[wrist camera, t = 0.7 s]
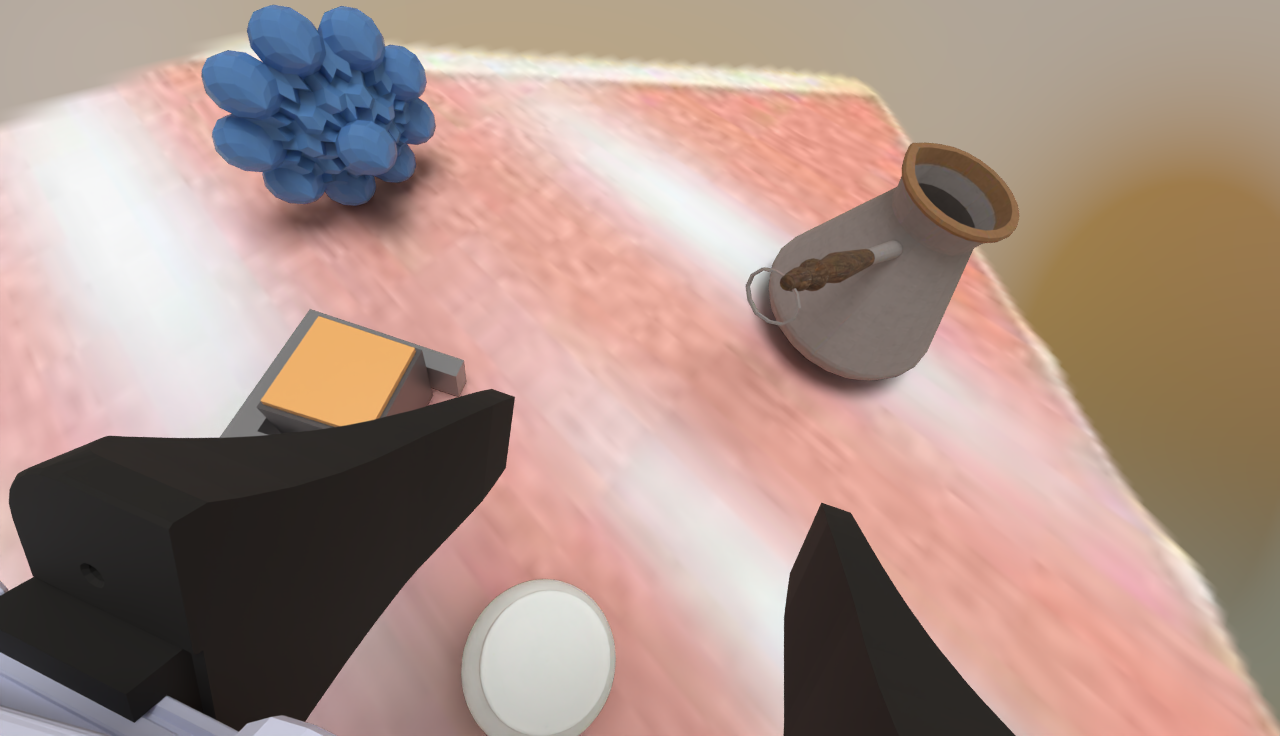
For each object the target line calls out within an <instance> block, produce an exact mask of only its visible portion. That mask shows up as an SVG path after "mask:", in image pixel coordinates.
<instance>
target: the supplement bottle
mask: <svg viewBox="0 0 1280 736" xmlns="http://www.w3.org/2000/svg"><path fill="white" fill-rule="evenodd" d="M615 662H616V655H615V644H614V639H613V635H612V631H611V629H610V626H609V624H608V621H607V619H606V617H605V615H604V613H603V612H602V610H601V609H600V608H599V606H598V605H597V604H596V603H595V601H594V600H593V599H592V598H591V597H590V596H588V595H587V594H586V593H585V592H583V591H582V590H580V589H579V588H577V587H575V586H573V585H571V584H569V583H565V582H562V581H558V580H551V579H538V580H532V581H527V582H524V583H521V584H518V585H516V586H513V587H512V588H510V589H508V590H506V591H505V592H503V593H502V594H500V595H499V596H497V597H496V598H495V599H494V600H493V601H492V602H491V603H490V604H489V605H488V606H487V607H486V608H485V609H484V610H483V612H482V613H481V614H480V616H479V617H478V619H477V620H476V622H475V624H474V625H473V627H472V629H471V631H470V634H469V636H468V638H467V641H466V644H465V647H464V650H463V656H462V668H461V680H462V688H463V693H464V697H465V700H466V703H467V706H468V708H469V711H470V713H471V715H472V716H473V718H474V720H475V721H476V723H477V724H478V725H479V727H480V728H481V729H482V730H483V731H484V732H485V733H486V734H487V735H488V736H579V735H580V734H581V733H582V732H583V731H585V730H586V729H587V728H588V727H589V726H590V724H591V723H592V722H593V721H594V720H595V718H596V717H597V716H598V714H599V713H600V711H601V710H602V708H603V706H604V704H605V702H606V700H607V698H608V695H609V693H610V690H611V687H612V683H613V679H614V673H615Z"/></svg>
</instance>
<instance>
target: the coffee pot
mask: <svg viewBox="0 0 1280 736" xmlns="http://www.w3.org/2000/svg"><path fill="white" fill-rule="evenodd" d="M1018 220H1019V210H1018V205H1017V202H1016V200H1015V198H1014V196H1013V193H1012V192H1011V190H1010V189H1009V187H1008V186H1007V185H1006V183H1005V182H1004V181H1003V180H1002V179H1001V178H1000V177H999V175H998V174H997V173H996V172H995V171H994V170H992V169H991V168H990V167H988V166H987V165H986V164H985V163H983V162H982V161H981V160H979V159H977V158H976V157H974V156H972V155H971V154H969V153H967V152H964V151H962V150H960V149H957V148H954V147H951V146H946V145H942V144H934V143H912V144H911V145H910V146H909V148H908V150H907V152H906V154H905V157H904V160H903V165H902V177H901V179H900V182H899V184H898V187H896V188H894V189H892V190H890V191H888V192H886V193H884V194H882V195H880V196H878V197H876V198H874V199H872V200H870V201H867V202H865V203H863V204H861V205H859V206H857V207H855V208H853V209H851V210H849V211H847V212H845V213H843V214H841V215H839V216H837V217H835V218H833V219H831V220H829V221H827V222H825V223H823V224H821V225H819V226H817V227H815V228H813V229H811V230H809V231H807V232H805V233H803V234H801V235H799V236H797V237H795V238H794V239H793V240H792V241H790V242H789V243H788V244H787V245H785V246H784V247H783V248H782V249H781V250H780V252H779V254H778V255H777V257H776V259H775V260H774V262H773V265H772V269H770V268H765V267H764V268H761V269H759V270H757V271H756V272H754V273H752V274H751V275H750V277H749V280H748V282H747V284H746V292H747V300H748V302H749V304H750V306H751V308H752V310H753V312H754V313H755V315H757V316H758V317H760V318H761V319H763V320H764V321H766V322H767V323H770V324H775V325H778V326H779V328H780V329H781V330H782V332H783V333H784V335H785V336H786V337H787V339H788V340H789V342H790V343H791V344H792V346H794V347H795V348H796V349H797V350H798V351H799V352H800V353H801V354H802V355H803V356H804V357H805V358H806V359H808V360H810V361H811V362H813V363H814V364H816V365H818V366H819V367H821V368H823V369H824V370H826V371H828V372H831V373H833V374H836V375H839V376H842V377H845V378H848V379H857V380H866V381H869V380H880V379H886V378H892V377H896V376H899V375H901V374H903V373H905V372H906V371H908V370H910V369H912V368H914V367H915V366H916V365H917V363H918V362H919V361H920V360H921V358H922V357H923V356H924V355H925V353H926V352H927V350H928V348H929V346H930V344H931V342H932V339H933V337H934V335H935V333H936V331H937V328H938V326H939V324H940V322H941V319H942V317H943V315H944V313H945V311H946V308H947V306H948V304H949V302H950V300H951V297H952V295H953V293H954V291H955V288H956V286H957V284H958V282H959V280H960V277H961V275H962V273H963V271H964V269H965V266H966V264H967V262H968V260H969V257H970V255H971V253H972V251H973V249H974V248H975V247H977V246H979V245H981V244H983V243H993V242H998V241H1000V240H1003V239H1005V238H1007V237H1009V236H1010V235H1011V234H1012V233H1013V231H1014V230H1015V229H1016V227H1017V225H1018ZM762 271H768V272H771V275H770V281H769V295H770V303H771V309H772V311H773V314H774V316H775V319H776V321H773V320H770V319H768V318H767V317H765V316H764V315H762V314H761V313H760V312H758V310H757V308H756V306H755V304H754V302H753V300H752V297H751V290H750V285H751V282H752V280H753V278H754V276H755V275H756V274H758V273H760V272H762Z"/></svg>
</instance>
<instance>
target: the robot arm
mask: <svg viewBox="0 0 1280 736" xmlns="http://www.w3.org/2000/svg"><path fill="white" fill-rule="evenodd" d="M514 400H515V397H513V396H510V395H508V394H505V393H502V392H499V391H496V390H493V389H489V390H484V391H480V392H476V393H472V394H468V395H465V396H461V397H458V398H454V399H451V400H447V401H444V402H440V403H437V404H433V405H430V406H426V407H422V408H419V409H415V410H412V411H407V412H403V413H399V414H395V415H391V416H387V417H383V418H378V419H374V420H370V421H365V422H361V423H355V424H350V425H345V426H339V427H332V428H326V429H320V430H312V431H303V432H293V433H283V434H273V435H262V436H247V437H227V438H155V437H122V436H106V437H103V438H100V439H98V440H96V441H93V442H91V443H89V444H86V445H84V446H81V447H79V448H76V449H74V450H72V451H69V452H67V453H64V454H62V455H59V456H57V457H54V458H52V459H49V460H47V461H45V462H42V463H40V464H37V465H35V466H32V467H30V468H28V469H26V470H24V471H22V472H20V473H18V474H17V476H16V478H15V480H14V481H13V483H12V485H11V488H10V493H9V505H10V509H11V514H12V518H13V521H14V524H15V527H16V529H17V532H18V535H19V538H20V541H21V544H22V546H23V549H24V552H25V555H26V558H27V560H28V563H29V566H30V569H31V572H32V575H33V576H34V577H33V578H31V579H29V580H28V581H26V582H24V583H22V584H20V585H19V586H17V587H15V588H13V589H11V590H9V591H8V589H7V588H6V586H5V585H4V584H3V583H2V582H1V581H0V736H337V735H335V734H333V733H331V732H329V731H326V730H324V729H322V728H320V727H318V726H316V725H313V724H310V723H307V722H305V721H306V720H307V718H308V717H309V715H310V713H311V712H312V711H313V709H314V708H315V706H316V705H317V703H318V702H319V700H320V699H321V698H322V696H323V695H324V693H325V692H326V690H327V689H328V688H329V686H330V685H331V683H332V682H333V680H334V679H335V677H336V676H337V675H338V673H339V672H340V670H341V669H342V667H343V666H344V664H345V663H346V662H347V660H348V659H349V658H350V656H351V655H352V653H353V652H354V651H355V649H356V648H357V647H358V645H359V644H360V643H361V641H362V640H363V638H364V637H365V636H366V634H367V633H368V632H369V630H370V629H371V628H372V626H373V625H374V623H375V622H376V621H377V619H378V618H379V617H380V616H381V614H382V613H383V612H384V610H385V609H386V608H387V607H388V605H389V604H390V603H391V601H392V600H393V599H394V597H395V596H396V595H397V594H398V592H399V591H400V590H401V588H402V587H403V586H404V585H405V583H406V582H407V581H408V580H409V579H410V578H411V577H412V575H413V574H414V573H415V572H416V571H417V570H418V569H419V568H420V566H421V565H422V564H423V563H424V562H425V561H426V560H427V559H428V558H429V557H430V556H431V555H432V554H433V553H434V552H435V551H436V550H437V549H438V548H439V547H440V545H441V544H442V543H443V542H444V541H445V540H446V539H447V538H448V537H449V536H450V535H451V534H452V533H453V532H454V531H455V530H456V529H457V528H458V527H459V526H460V524H461V523H462V522H463V521H464V520H465V519H466V518H467V517H468V516H469V515H470V514H471V513H472V512H473V511H474V509H475V508H476V507H477V506H478V505H479V504H480V503H481V502H482V501H483V499H484V498H485V497H486V495H487V494H488V493H489V491H490V490H491V488H492V487H493V486H494V484H495V483H496V481H497V480H498V478H499V477H500V476H501V474H502V473H503V471H504V470H505V468H506V461H507V453H508V446H509V438H510V430H511V423H512V415H513V407H514ZM784 736H1015V735H1014V734H1013V733H1012V731H1011V730H1010V729H1009V728H1008V727H1007V726H1006V725H1005V724H1004V723H1003V722H1002V721H1001V720H1000V719H999V718H998V716H997V715H996V714H995V713H994V712H993V711H992V710H991V709H990V708H989V707H988V706H987V705H986V704H985V703H984V702H983V700H982V699H981V698H980V697H979V696H978V695H977V694H976V693H975V691H974V690H973V689H972V688H971V687H970V686H969V685H968V683H967V682H966V681H965V680H964V679H963V678H962V676H961V675H960V674H959V673H958V671H957V670H956V669H955V668H954V667H953V665H952V664H951V663H950V662H949V660H948V659H947V658H946V657H945V656H944V654H943V653H942V652H941V651H940V649H939V648H938V647H937V646H936V644H935V643H934V642H933V640H932V639H931V638H930V636H929V635H928V634H927V632H926V631H925V630H924V628H923V627H922V625H921V624H920V622H919V621H918V620H917V618H916V617H915V615H914V614H913V613H912V611H911V610H910V608H909V607H908V606H907V604H906V603H905V601H904V600H903V598H902V597H901V595H900V594H899V592H898V591H897V589H896V587H895V586H894V584H893V583H892V581H891V580H890V578H889V576H888V575H887V573H886V572H885V570H884V568H883V567H882V565H881V563H880V562H879V560H878V558H877V557H876V555H875V553H874V552H873V550H872V548H871V546H870V545H869V543H868V541H867V540H866V538H865V536H864V534H863V533H862V531H861V529H860V528H859V526H858V524H857V522H856V521H855V519H854V517H853V516H852V514H851V513H850V512H847V511H844V510H841V509H838V508H835V507H832V506H829V505H827V504H824V503H821V505H820V507H819V510H818V512H817V514H816V516H815V518H814V521H813V523H812V525H811V527H810V530H809V532H808V534H807V536H806V539H805V541H804V543H803V545H802V548H801V550H800V552H799V554H798V557H797V559H796V561H795V563H794V566H793V568H792V570H791V572H790V577H789V584H788V591H787V599H786V607H785V615H784Z"/></svg>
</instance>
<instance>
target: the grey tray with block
mask: <svg viewBox="0 0 1280 736" xmlns="http://www.w3.org/2000/svg"><path fill="white" fill-rule="evenodd" d="M465 383H466V374H465V365H464V360H461V359H458V358H455V357H452V356H449V355H446V354H443V353H440V352H437V351H434V350H431V349H428V348H425V347H422V346H419V345H416V344H413V343H410V342H407V341H404V340H401V339H398V338H395V337H392V336H389V335H386V334H383V333H380V332H377V331H374V330H371V329H368V328H365V327H362V326H359V325H356V324H353V323H350V322H347V321H344V320H341V319H338V318H335V317H332V316H329V315H326V314H323V313H320V312H317V311H314V310H311V309H310V310H309V311H308V313H307V314H306V316H305V317H304V318H303V320H302V321H301V323H300V324H299V326H298V327H297V328H296V330H295V331H294V333H293V334H292V336H291V337H290V338H289V340H288V341H287V343H286V344H285V345H284V347H283V348H282V350H281V351H280V353H279V354H278V355H277V357H276V358H275V360H274V361H273V363H272V364H271V365H270V367H269V368H268V370H267V371H266V372H265V374H264V375H263V377H262V378H261V380H260V381H259V382H258V384H257V385H256V387H255V388H254V390H253V391H252V392H251V394H250V395H249V397H248V398H247V400H246V401H245V402H244V404H243V405H242V407H241V408H240V409H239V411H238V412H237V414H236V415H235V417H234V418H233V419H232V421H231V422H230V424H229V425H228V427H227V428H226V429H225V431H224V432H223V434H222V435H221V436H220V438H227V437H247V436H262V435H273V434H283V433H293V432H303V431H312V430H320V429H326V428H332V427H339V426H345V425H350V424H355V423H361V422H365V421H370V420H374V419H378V418H383V417H387V416H391V415H395V414H399V413H403V412H407V411H412V410H415V409H419V408H422V407H426V406H428V404H429V402H430V400H431V398H432V396H433V393H432V389H431V388H433V389H436V390H439V391H442V392H445V393H448V394H452V395H455V396H458V397H459V396H460V394H461V392H462V389H463V387H464V385H465Z"/></svg>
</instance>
